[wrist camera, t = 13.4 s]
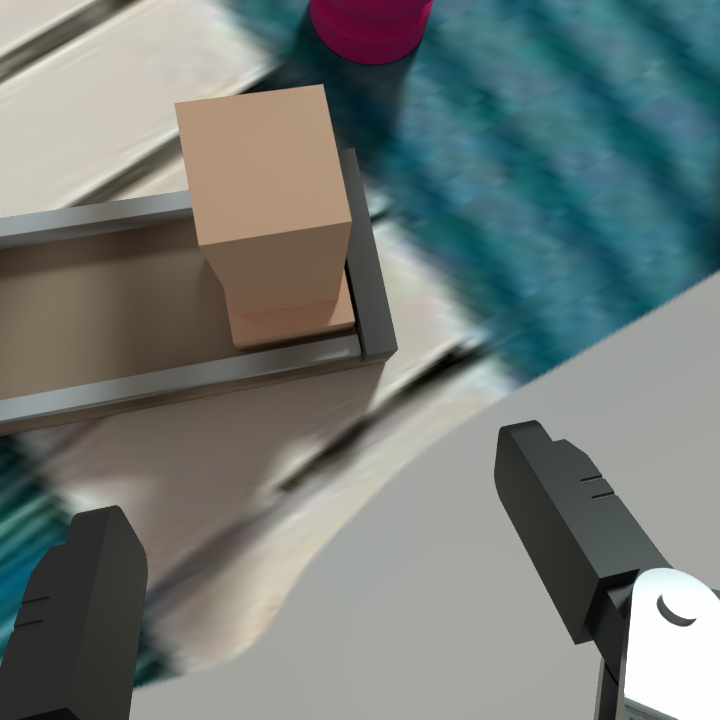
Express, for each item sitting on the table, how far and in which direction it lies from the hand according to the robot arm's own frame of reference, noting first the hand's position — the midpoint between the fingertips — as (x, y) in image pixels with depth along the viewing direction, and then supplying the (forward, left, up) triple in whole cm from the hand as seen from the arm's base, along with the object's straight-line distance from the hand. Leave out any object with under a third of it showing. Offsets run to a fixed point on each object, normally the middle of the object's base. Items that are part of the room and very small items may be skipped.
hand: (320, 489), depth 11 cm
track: (+6, -8, -13) cm, 17 cm away
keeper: (0, -8, -12) cm, 14 cm away
